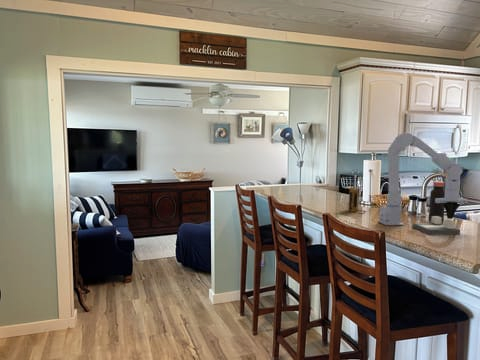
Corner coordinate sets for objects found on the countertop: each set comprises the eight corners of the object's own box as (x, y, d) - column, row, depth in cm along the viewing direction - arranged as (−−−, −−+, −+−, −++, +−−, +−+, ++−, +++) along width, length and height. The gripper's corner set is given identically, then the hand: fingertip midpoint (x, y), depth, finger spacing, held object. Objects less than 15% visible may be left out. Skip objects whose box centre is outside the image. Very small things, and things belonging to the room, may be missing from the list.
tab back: (434, 223, 169) (435, 217, 168) (431, 222, 172) (431, 216, 171) (441, 223, 169) (441, 217, 169) (437, 222, 172) (437, 216, 172)
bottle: (445, 222, 183) (448, 183, 181) (430, 222, 184) (433, 182, 182) (440, 220, 189) (444, 181, 187) (426, 219, 191) (429, 181, 189)
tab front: (447, 228, 160) (448, 221, 159) (443, 226, 163) (443, 220, 162) (454, 228, 160) (454, 221, 160) (449, 226, 163) (450, 220, 163)
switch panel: (429, 234, 159) (429, 229, 159) (412, 227, 172) (413, 222, 171) (459, 234, 160) (460, 229, 160) (441, 227, 173) (441, 222, 173)
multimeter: (372, 214, 202) (374, 178, 200) (354, 213, 202) (355, 177, 200) (363, 209, 216) (365, 175, 214) (346, 208, 216) (348, 175, 214)
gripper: (442, 190, 165) (440, 220, 166) (473, 190, 166) (470, 220, 167) (433, 188, 172) (431, 216, 173) (462, 188, 173) (460, 216, 174)
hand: (449, 218), depth 171 cm, fingers closed
